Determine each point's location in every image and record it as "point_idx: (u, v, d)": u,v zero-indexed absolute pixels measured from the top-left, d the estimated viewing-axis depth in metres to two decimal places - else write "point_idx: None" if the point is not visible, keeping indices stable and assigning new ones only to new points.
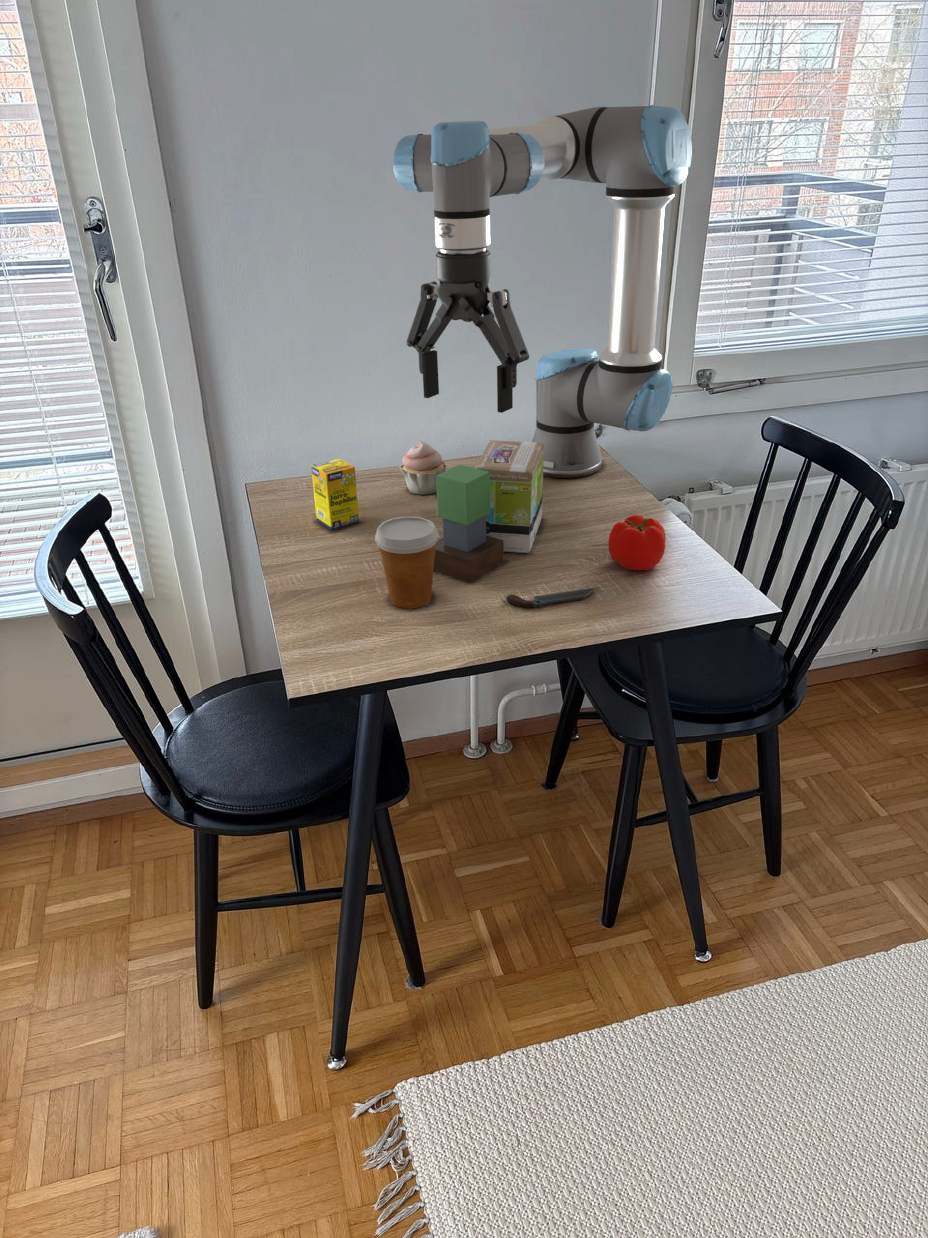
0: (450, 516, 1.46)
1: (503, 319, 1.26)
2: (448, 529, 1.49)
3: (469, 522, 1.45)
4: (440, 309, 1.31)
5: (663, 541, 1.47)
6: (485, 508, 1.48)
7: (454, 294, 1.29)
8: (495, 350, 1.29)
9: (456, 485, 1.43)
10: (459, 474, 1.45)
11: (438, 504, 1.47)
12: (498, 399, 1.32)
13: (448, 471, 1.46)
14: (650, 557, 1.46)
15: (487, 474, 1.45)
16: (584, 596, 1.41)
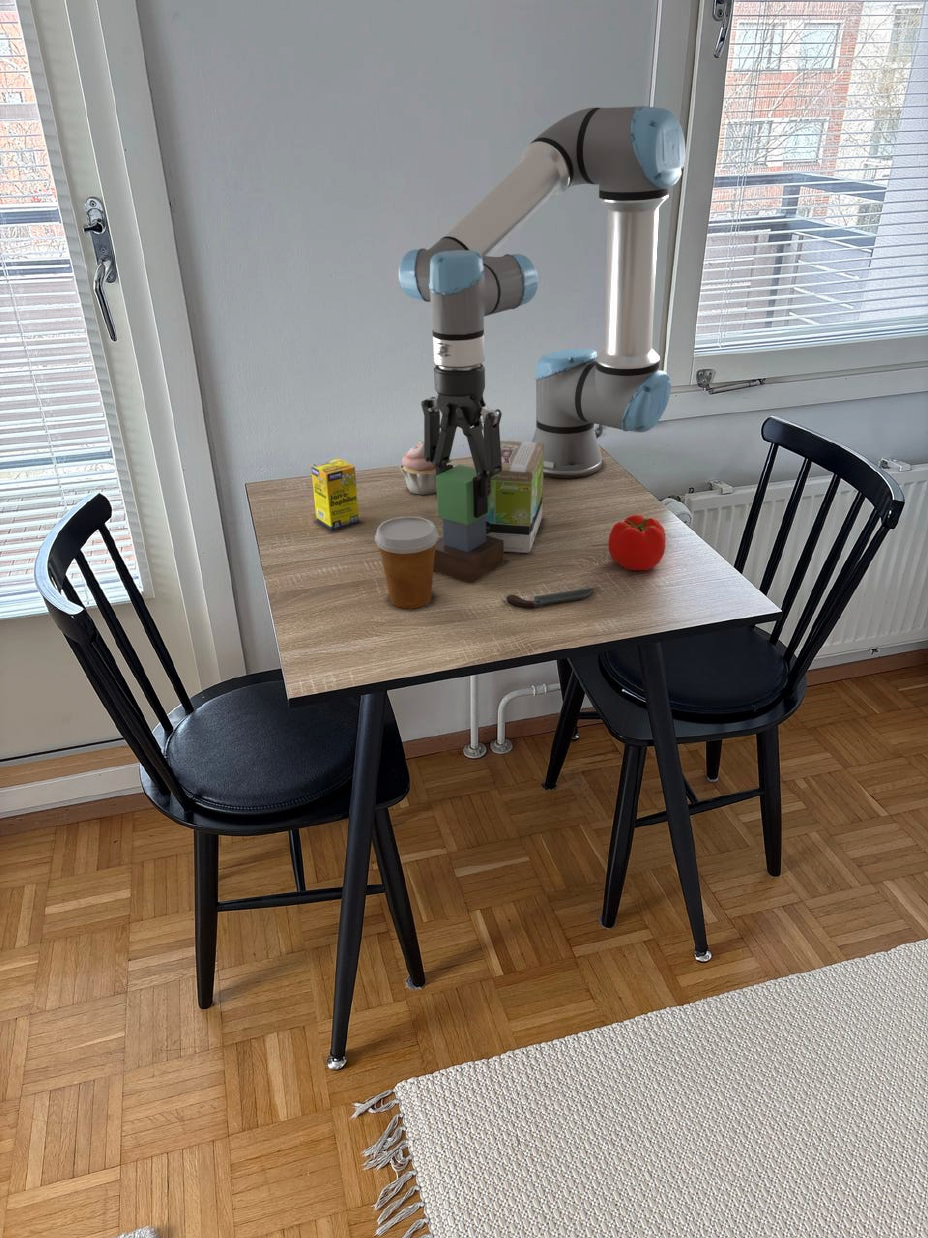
0: (450, 516, 1.46)
1: (489, 438, 1.37)
2: (448, 529, 1.49)
3: (469, 522, 1.45)
4: (442, 420, 1.41)
5: (663, 541, 1.47)
6: None
7: (449, 402, 1.39)
8: (474, 461, 1.41)
9: (456, 485, 1.43)
10: (459, 474, 1.45)
11: (438, 504, 1.47)
12: (474, 506, 1.45)
13: (448, 471, 1.46)
14: (650, 557, 1.46)
15: None
16: (584, 596, 1.41)
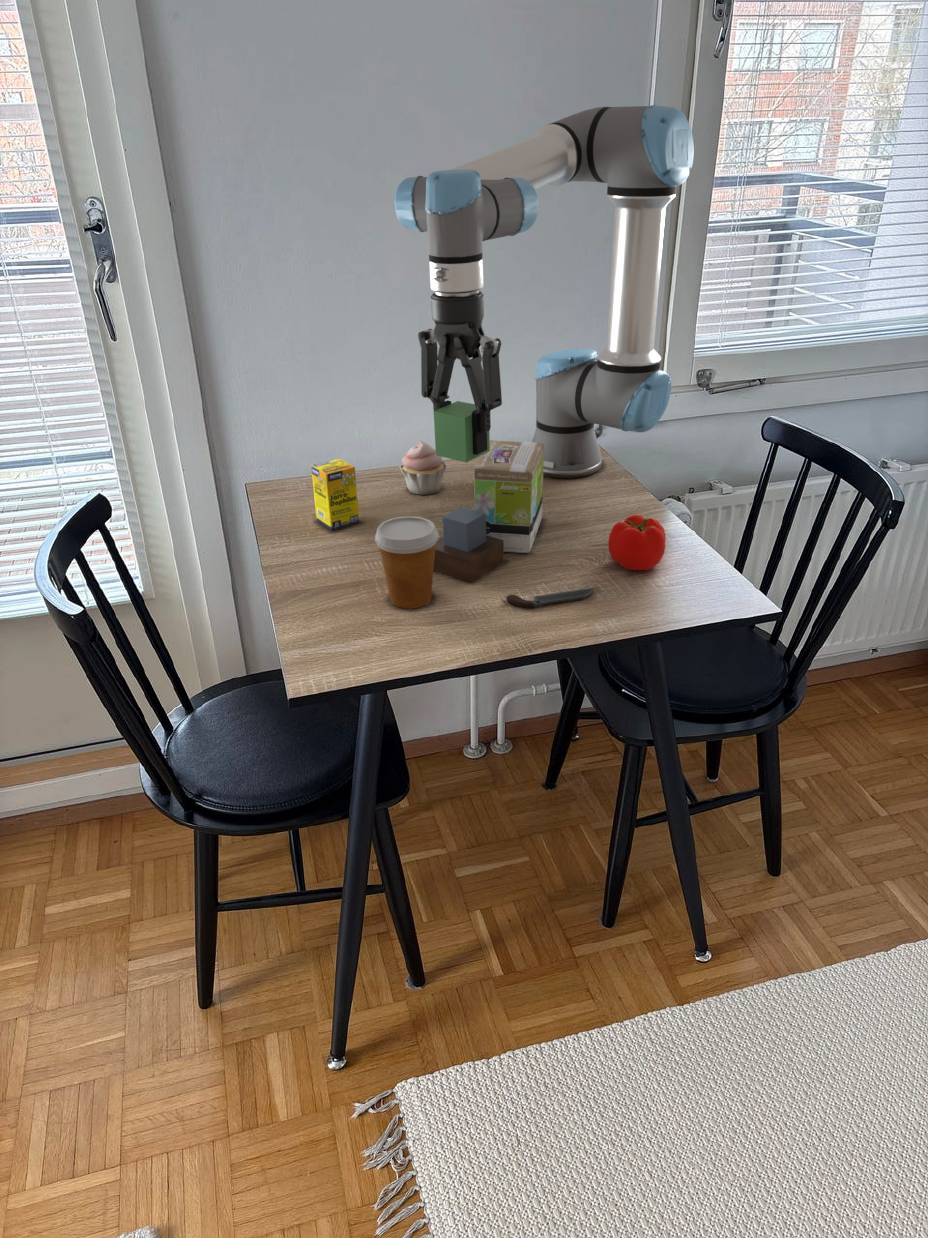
0: (449, 454, 1.41)
1: (488, 368, 1.32)
2: (448, 529, 1.49)
3: (468, 459, 1.40)
4: (439, 352, 1.36)
5: (663, 541, 1.47)
6: None
7: (447, 332, 1.34)
8: (473, 394, 1.36)
9: (454, 420, 1.38)
10: (457, 410, 1.40)
11: (436, 441, 1.42)
12: (473, 442, 1.40)
13: (446, 407, 1.41)
14: (650, 557, 1.46)
15: None
16: (584, 596, 1.41)
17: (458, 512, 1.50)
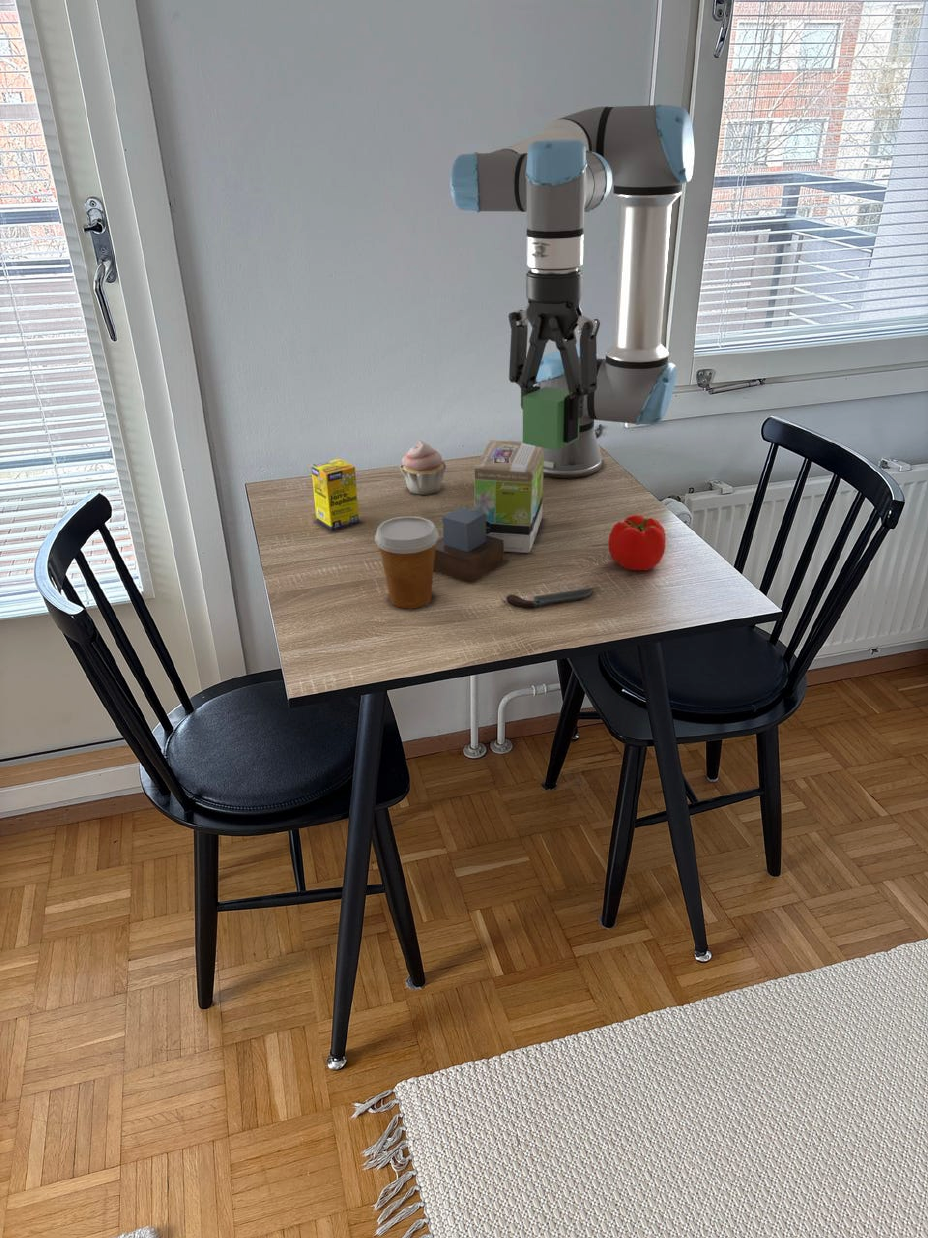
0: (537, 441, 1.34)
1: (586, 350, 1.26)
2: (448, 529, 1.49)
3: (558, 447, 1.33)
4: (532, 333, 1.29)
5: (663, 541, 1.47)
6: None
7: (541, 313, 1.27)
8: (567, 378, 1.29)
9: (546, 405, 1.31)
10: (548, 395, 1.33)
11: (523, 428, 1.35)
12: (564, 429, 1.33)
13: (535, 392, 1.34)
14: (650, 557, 1.46)
15: None
16: (584, 596, 1.41)
17: (458, 512, 1.50)
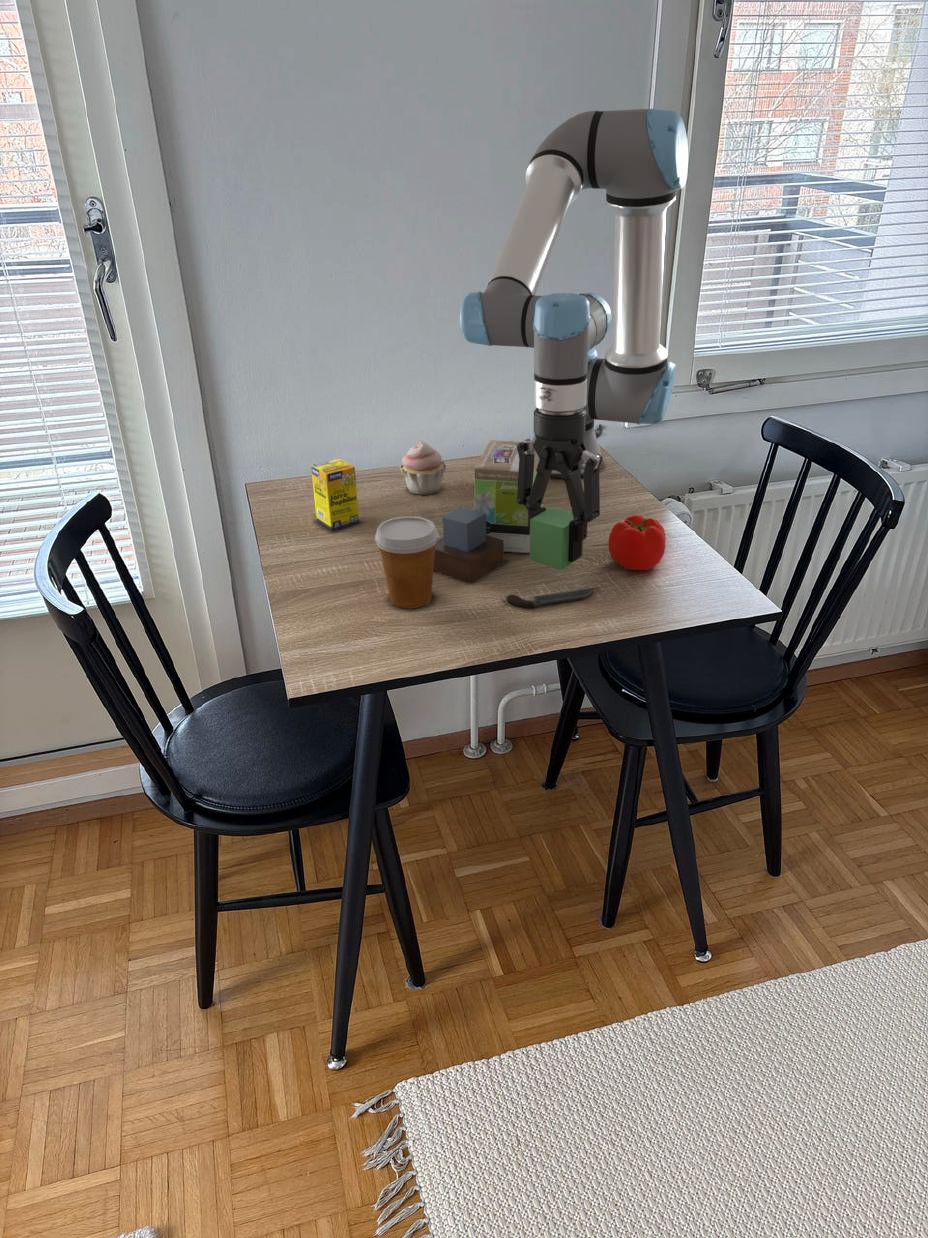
0: (544, 560, 1.44)
1: (590, 483, 1.35)
2: (448, 529, 1.49)
3: (564, 566, 1.42)
4: (539, 464, 1.38)
5: (663, 541, 1.47)
6: None
7: (548, 446, 1.37)
8: (572, 506, 1.38)
9: (552, 530, 1.40)
10: (554, 518, 1.42)
11: (531, 548, 1.44)
12: (569, 550, 1.42)
13: (541, 514, 1.43)
14: (650, 557, 1.46)
15: None
16: (584, 596, 1.41)
17: (458, 512, 1.50)
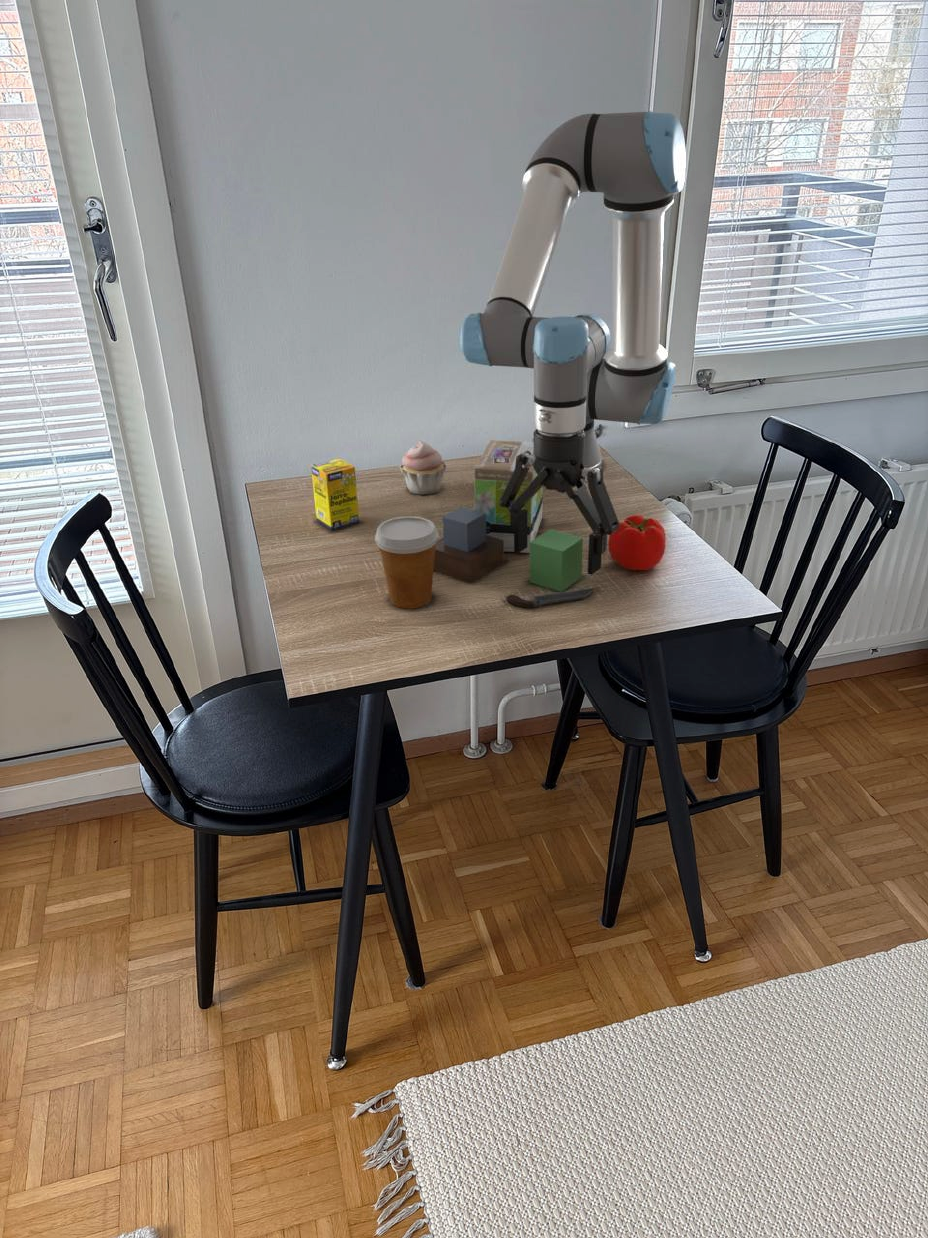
0: (543, 582, 1.45)
1: (597, 495, 1.35)
2: (448, 529, 1.49)
3: (563, 589, 1.44)
4: (535, 479, 1.40)
5: (663, 541, 1.47)
6: (577, 573, 1.47)
7: (549, 468, 1.38)
8: (588, 521, 1.38)
9: (551, 553, 1.42)
10: (553, 541, 1.44)
11: (530, 570, 1.46)
12: (588, 563, 1.41)
13: (541, 537, 1.45)
14: (650, 557, 1.46)
15: (581, 540, 1.44)
16: (584, 596, 1.41)
17: (458, 512, 1.50)
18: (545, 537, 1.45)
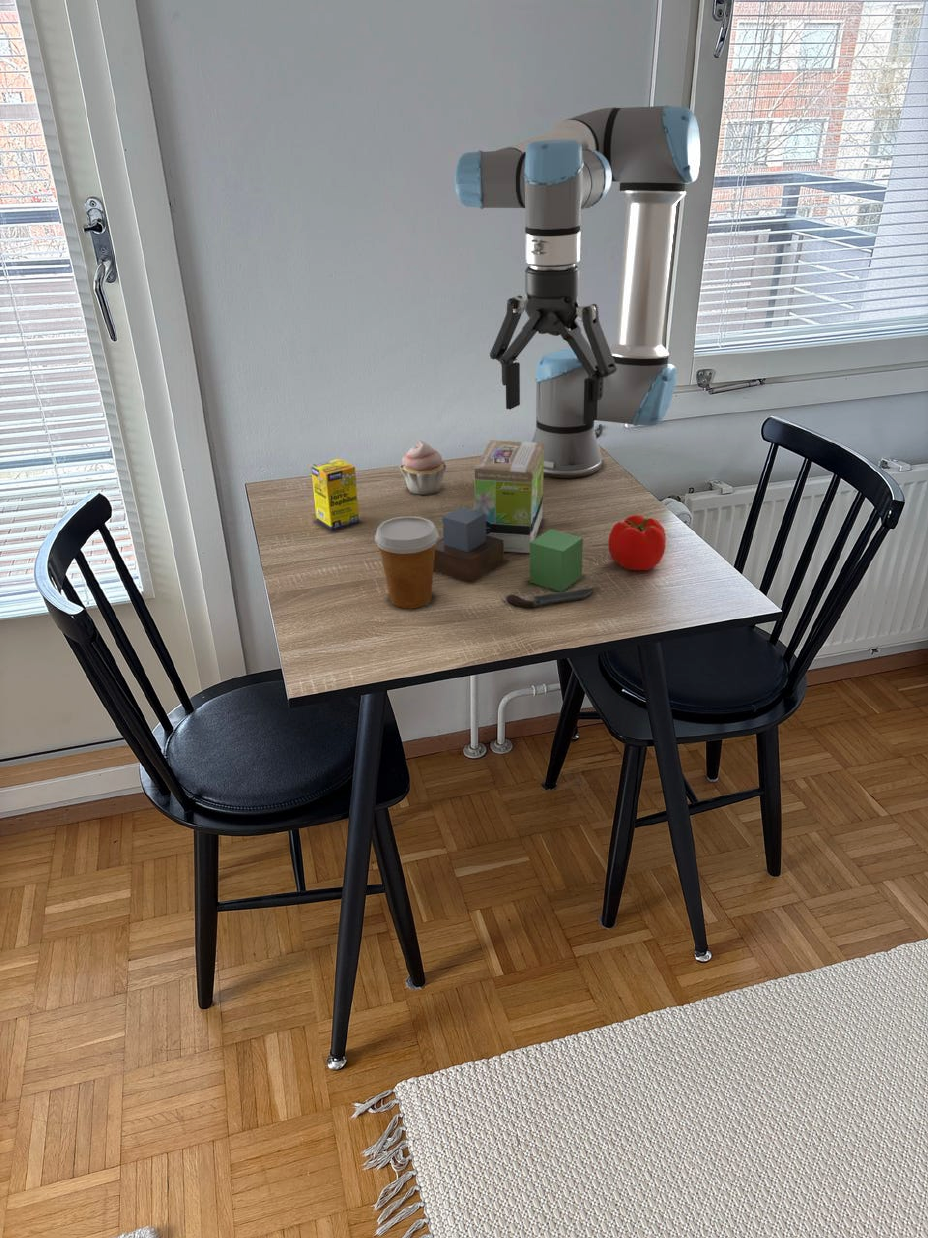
0: (543, 582, 1.45)
1: (593, 333, 1.29)
2: (448, 529, 1.49)
3: (563, 589, 1.44)
4: (527, 323, 1.34)
5: (663, 541, 1.47)
6: (577, 573, 1.47)
7: (542, 308, 1.32)
8: (583, 363, 1.31)
9: (551, 553, 1.42)
10: (553, 541, 1.44)
11: (530, 570, 1.46)
12: (584, 411, 1.35)
13: (541, 537, 1.45)
14: (650, 557, 1.46)
15: (581, 540, 1.44)
16: (584, 596, 1.41)
17: (458, 512, 1.50)
18: (545, 537, 1.45)
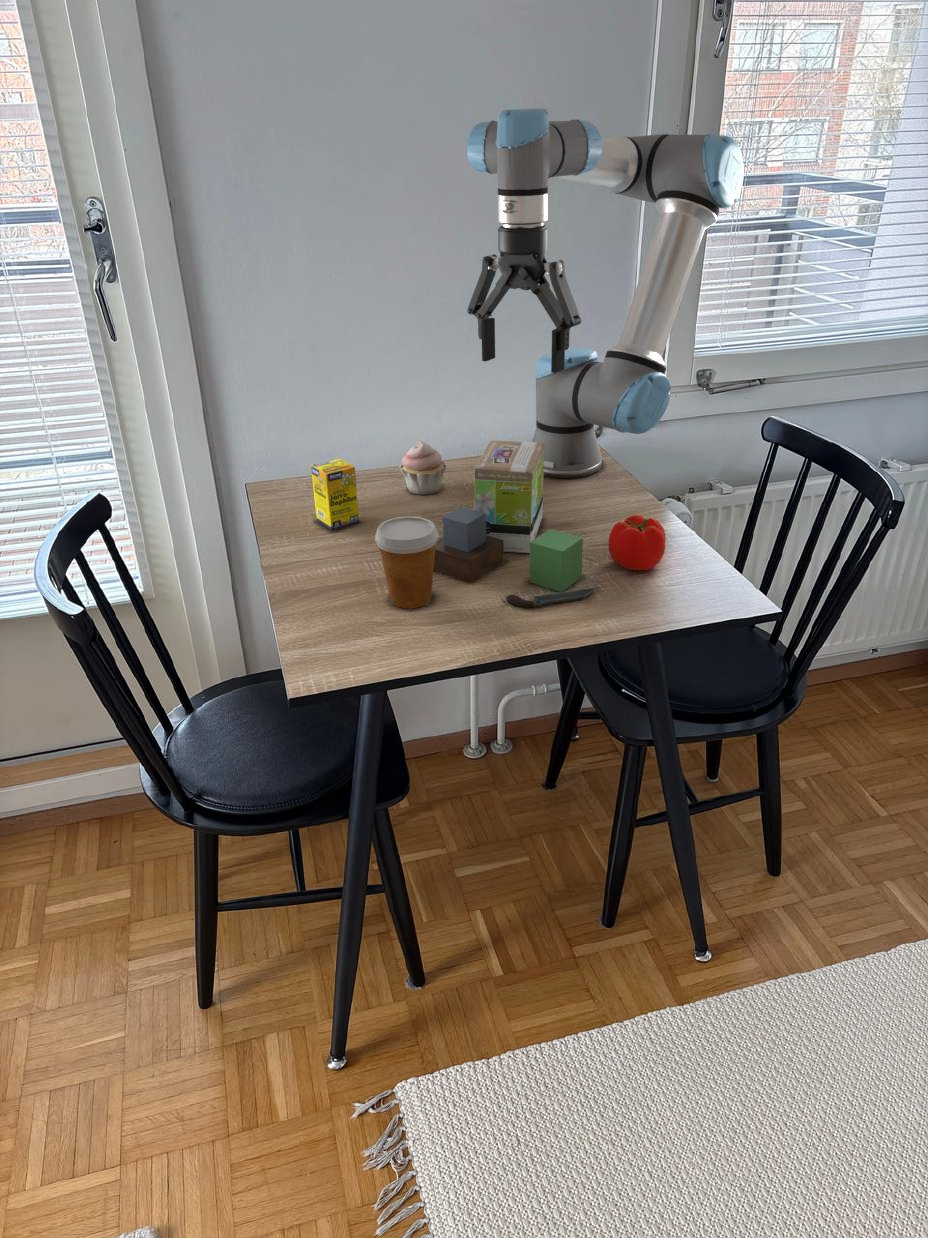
0: (543, 582, 1.45)
1: (559, 287, 1.40)
2: (448, 529, 1.49)
3: (563, 589, 1.44)
4: (500, 279, 1.45)
5: (663, 541, 1.47)
6: (577, 573, 1.47)
7: (513, 265, 1.44)
8: (550, 315, 1.43)
9: (551, 553, 1.42)
10: (553, 541, 1.44)
11: (530, 570, 1.46)
12: (552, 360, 1.46)
13: (541, 537, 1.45)
14: (650, 557, 1.46)
15: (581, 540, 1.44)
16: (584, 596, 1.41)
17: (458, 512, 1.50)
18: (545, 537, 1.45)
